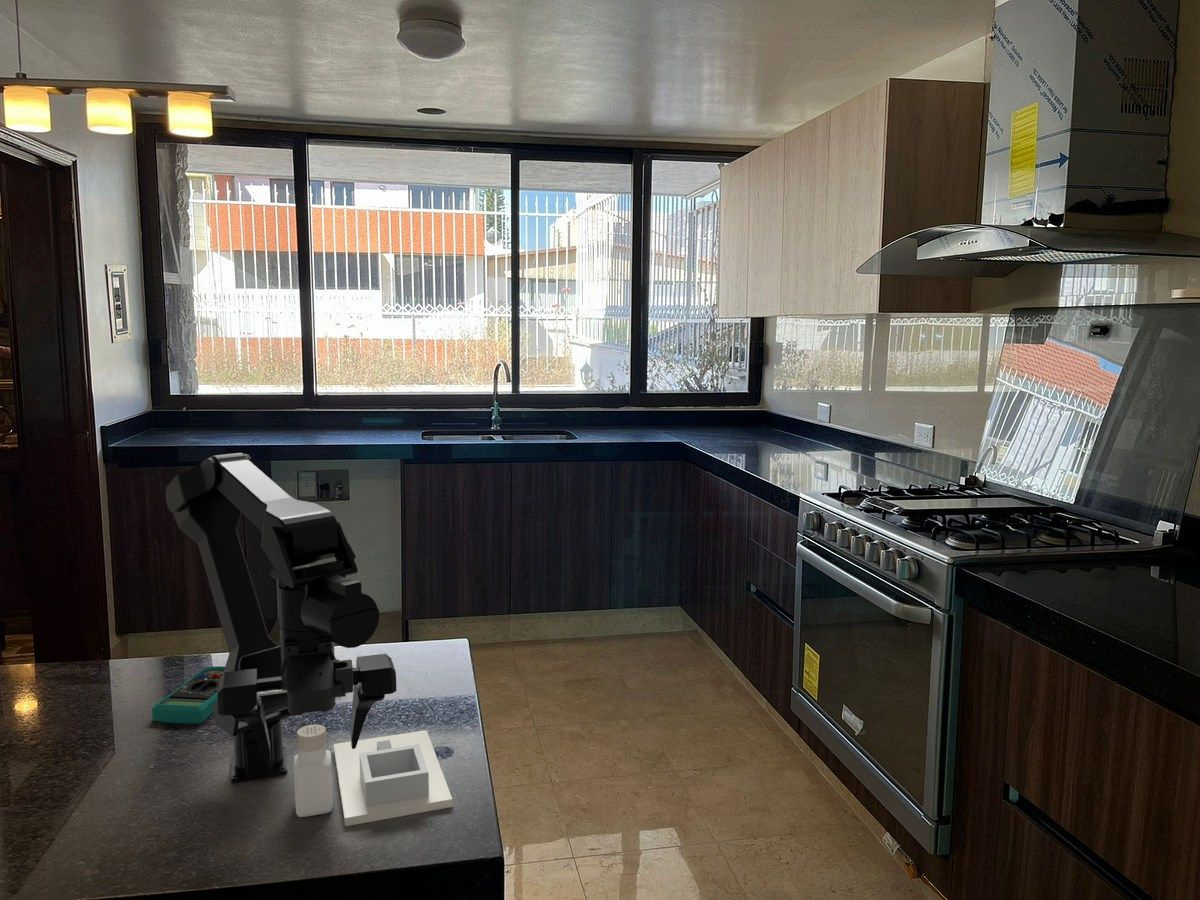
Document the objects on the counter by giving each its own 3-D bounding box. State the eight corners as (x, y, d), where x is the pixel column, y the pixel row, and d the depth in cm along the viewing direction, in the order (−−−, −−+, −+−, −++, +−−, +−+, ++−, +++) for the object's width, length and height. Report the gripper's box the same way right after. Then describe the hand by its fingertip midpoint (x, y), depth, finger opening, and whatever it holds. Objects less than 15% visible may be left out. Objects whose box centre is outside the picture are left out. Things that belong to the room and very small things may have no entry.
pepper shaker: (332, 796, 105) (329, 720, 103) (333, 814, 101) (330, 736, 100) (296, 801, 104) (292, 725, 102) (296, 820, 100) (292, 741, 98)
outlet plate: (333, 751, 115) (332, 722, 115) (426, 737, 120) (426, 709, 119) (345, 826, 99) (343, 793, 98) (452, 806, 103) (452, 774, 102)
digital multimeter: (251, 683, 137) (250, 665, 137) (201, 727, 123) (200, 707, 122) (205, 681, 138) (204, 663, 137) (150, 725, 123) (148, 705, 123)
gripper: (211, 660, 88) (219, 805, 91) (402, 638, 95) (404, 774, 97) (217, 622, 99) (224, 754, 101) (388, 605, 105) (391, 729, 108)
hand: (311, 753), depth 101 cm, fingers open, 9 cm apart
